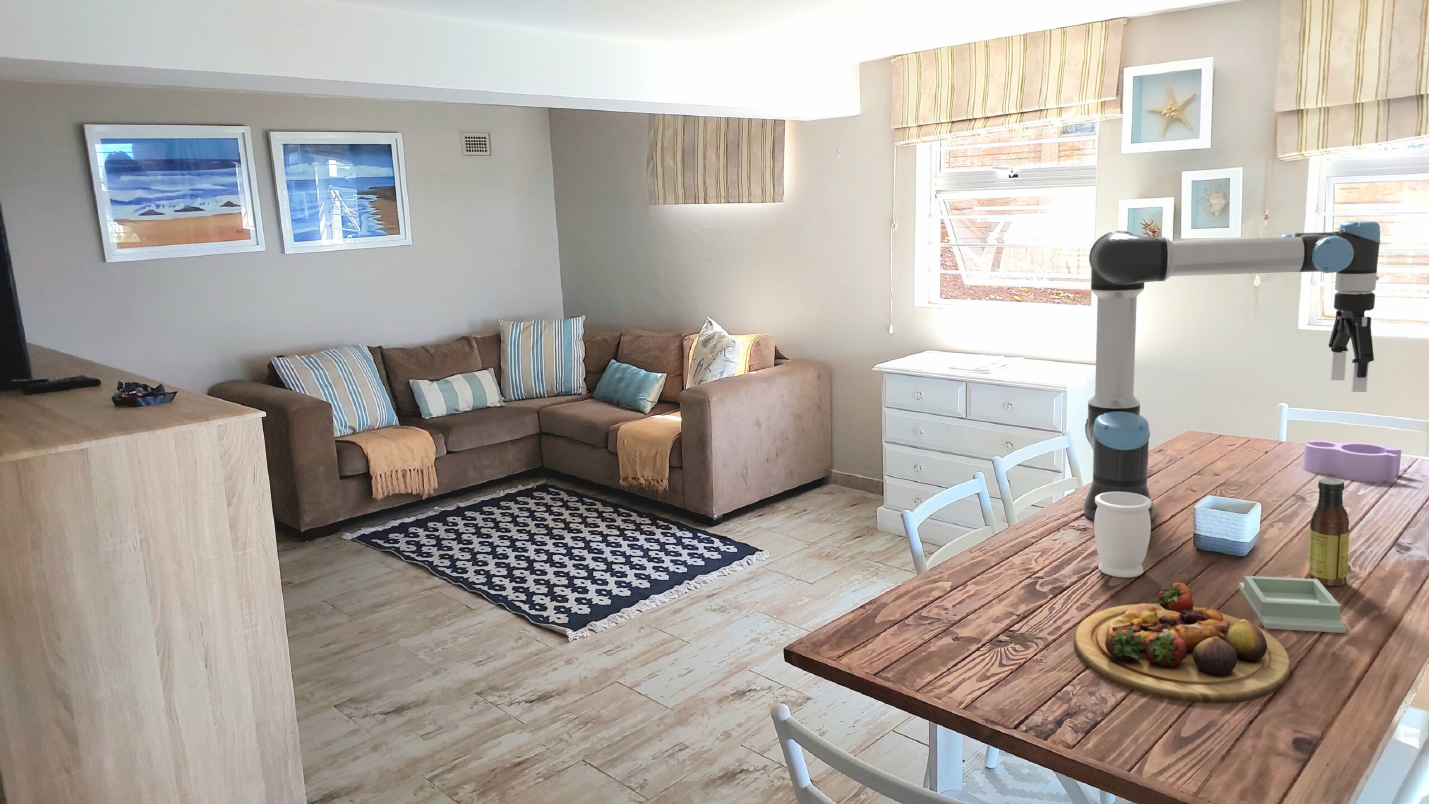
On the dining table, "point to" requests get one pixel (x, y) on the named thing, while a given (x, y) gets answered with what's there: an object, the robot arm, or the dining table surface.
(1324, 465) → the purple holder
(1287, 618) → the stand
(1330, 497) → the sauce bottle
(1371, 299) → the robot arm
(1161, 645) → the wooden plate with food
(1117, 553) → the jar
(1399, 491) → the dining table surface
